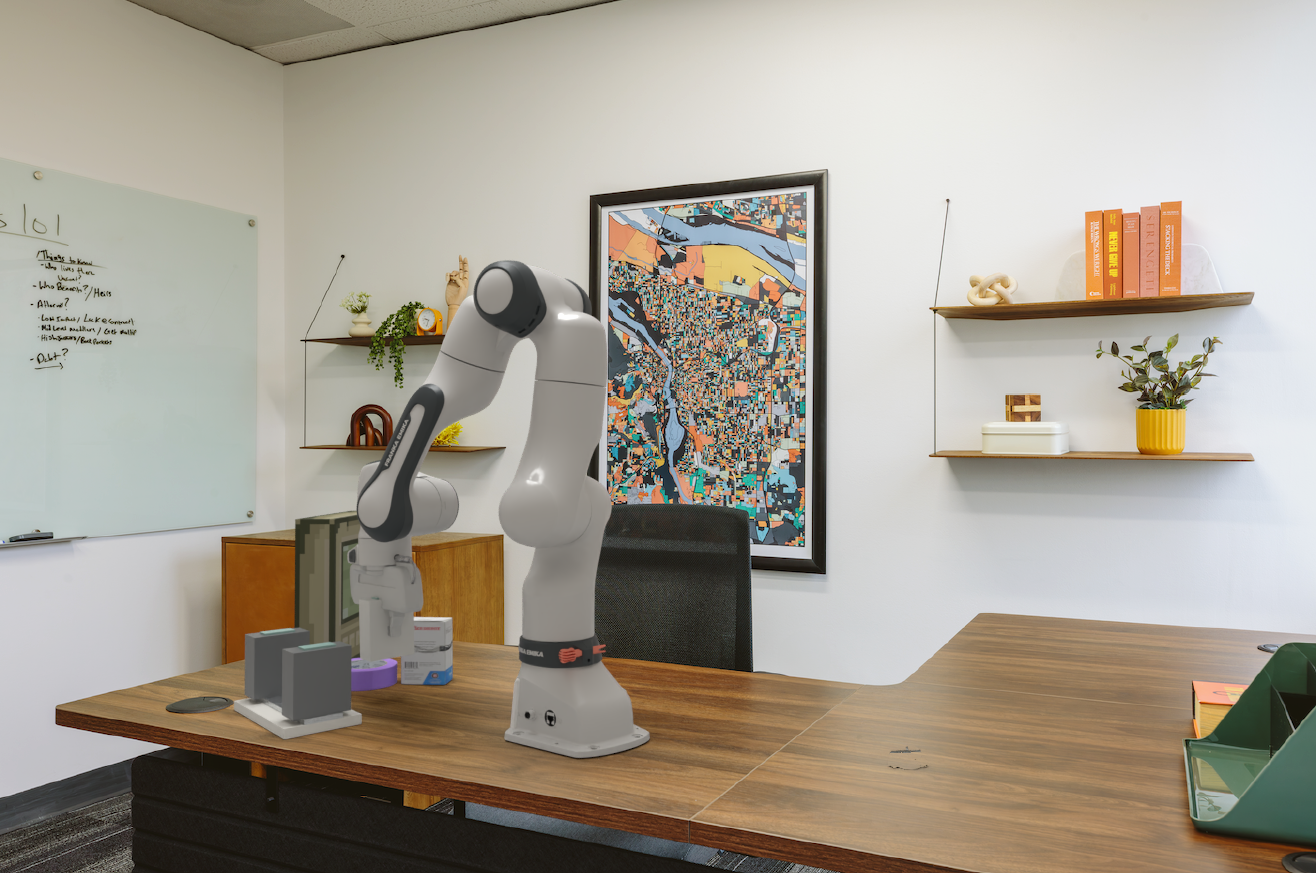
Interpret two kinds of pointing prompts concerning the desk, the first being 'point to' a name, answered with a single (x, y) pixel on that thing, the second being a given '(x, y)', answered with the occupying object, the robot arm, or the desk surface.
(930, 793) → the desk surface
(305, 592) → the control panel
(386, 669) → the masking tape
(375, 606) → the block
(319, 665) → the mounted modules
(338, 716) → the rail
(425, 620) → the ink box
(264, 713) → the mounting board
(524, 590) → the robot arm
